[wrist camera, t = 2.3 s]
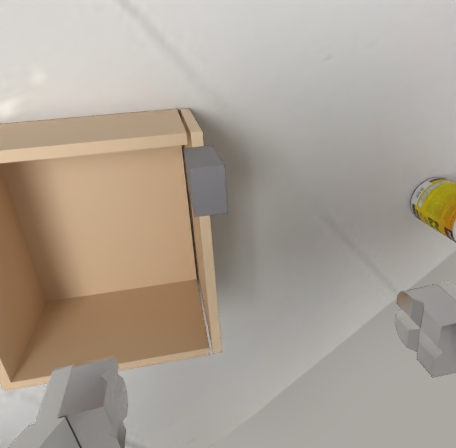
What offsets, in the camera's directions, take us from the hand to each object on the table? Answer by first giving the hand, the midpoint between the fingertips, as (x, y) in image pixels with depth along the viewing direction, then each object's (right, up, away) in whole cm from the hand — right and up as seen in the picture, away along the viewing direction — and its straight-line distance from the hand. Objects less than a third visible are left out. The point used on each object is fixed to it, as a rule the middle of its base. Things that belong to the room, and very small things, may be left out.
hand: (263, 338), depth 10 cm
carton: (-14, +4, +28) cm, 32 cm away
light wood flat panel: (-5, +5, +29) cm, 30 cm away
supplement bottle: (+24, +7, +35) cm, 42 cm away
